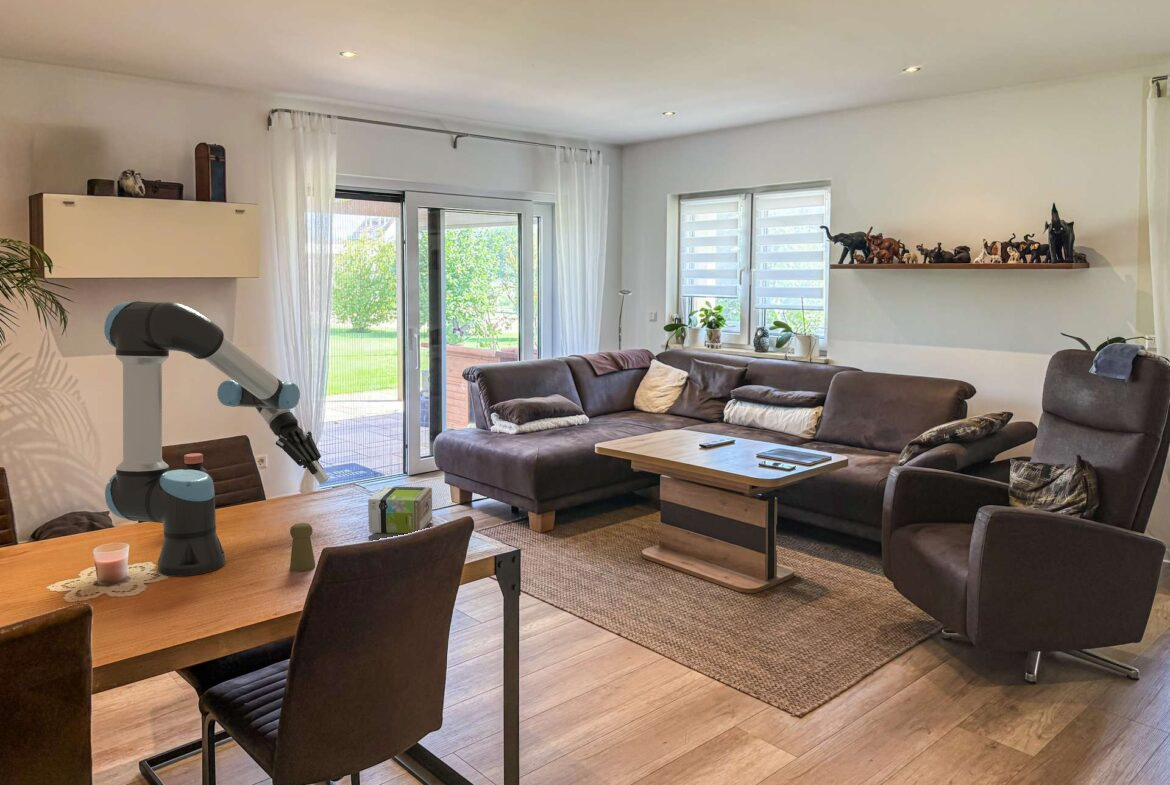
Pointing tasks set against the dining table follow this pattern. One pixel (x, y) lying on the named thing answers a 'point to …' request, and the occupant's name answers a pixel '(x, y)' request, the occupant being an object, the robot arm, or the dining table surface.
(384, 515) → the tea box
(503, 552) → the dining table surface
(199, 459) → the bottle
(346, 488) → the dining table surface
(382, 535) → the mat
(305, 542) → the olive green pawn
